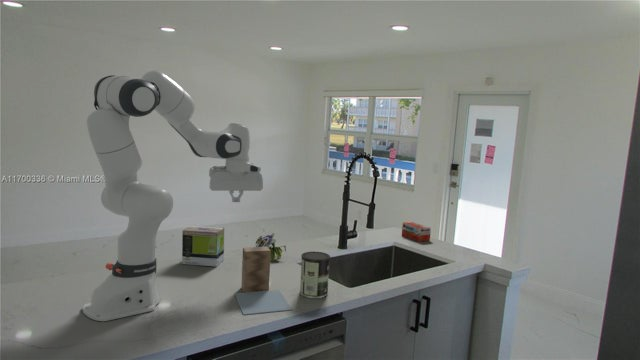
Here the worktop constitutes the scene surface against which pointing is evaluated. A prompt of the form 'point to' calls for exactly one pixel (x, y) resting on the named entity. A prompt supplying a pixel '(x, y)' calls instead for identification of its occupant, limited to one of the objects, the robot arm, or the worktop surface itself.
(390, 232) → the worktop surface
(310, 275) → the coffee can
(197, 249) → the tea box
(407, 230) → the medicine box
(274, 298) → the mat
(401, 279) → the worktop surface
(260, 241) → the passion flower
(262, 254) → the cardboard box
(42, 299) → the worktop surface
